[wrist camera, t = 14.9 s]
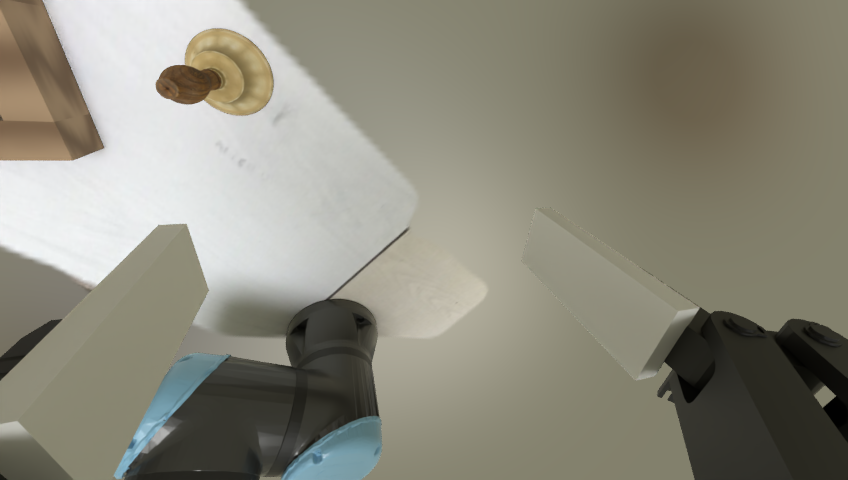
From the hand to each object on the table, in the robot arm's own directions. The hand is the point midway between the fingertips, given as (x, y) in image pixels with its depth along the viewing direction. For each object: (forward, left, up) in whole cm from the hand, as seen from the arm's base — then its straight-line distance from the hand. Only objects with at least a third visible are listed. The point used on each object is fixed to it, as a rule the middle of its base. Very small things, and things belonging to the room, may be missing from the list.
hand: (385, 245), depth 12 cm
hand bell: (+4, +12, -32) cm, 34 cm away
